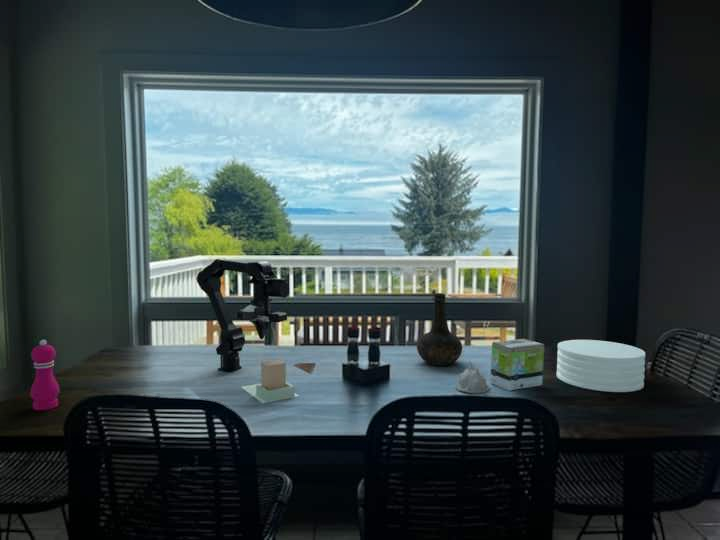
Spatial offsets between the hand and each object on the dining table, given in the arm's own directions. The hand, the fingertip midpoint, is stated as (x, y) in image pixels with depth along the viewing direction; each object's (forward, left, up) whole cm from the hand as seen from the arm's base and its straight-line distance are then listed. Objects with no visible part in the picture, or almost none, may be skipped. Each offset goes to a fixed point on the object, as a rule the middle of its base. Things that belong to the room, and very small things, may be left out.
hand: (261, 339), depth 179 cm
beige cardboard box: (+19, -20, -12) cm, 30 cm away
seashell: (+72, +19, -13) cm, 76 cm away
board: (+17, -18, -13) cm, 28 cm away
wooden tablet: (+11, +8, -14) cm, 19 cm away
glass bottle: (+53, +45, -13) cm, 71 cm away
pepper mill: (-36, -56, -13) cm, 68 cm away
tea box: (+85, +30, -13) cm, 91 cm away
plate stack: (+110, +50, -13) cm, 122 cm away
